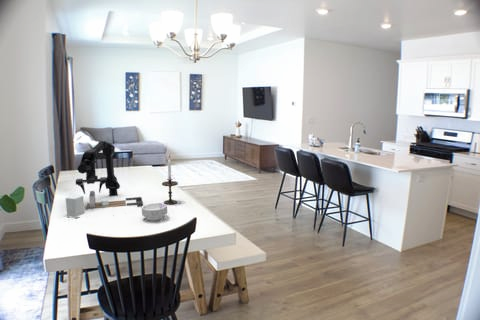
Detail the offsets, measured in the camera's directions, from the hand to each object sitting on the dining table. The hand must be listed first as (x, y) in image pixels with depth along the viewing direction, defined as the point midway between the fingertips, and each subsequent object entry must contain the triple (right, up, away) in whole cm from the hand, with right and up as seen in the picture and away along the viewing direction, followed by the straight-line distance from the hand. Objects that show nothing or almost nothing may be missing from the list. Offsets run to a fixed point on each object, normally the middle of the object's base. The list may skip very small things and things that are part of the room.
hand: (92, 193), depth 241 cm
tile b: (+8, -8, +2) cm, 12 cm away
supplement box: (-3, -13, -16) cm, 21 cm away
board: (+8, -9, +4) cm, 13 cm away
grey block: (0, -8, +1) cm, 8 cm away
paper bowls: (+46, -14, -19) cm, 52 cm away
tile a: (+7, -8, +6) cm, 12 cm away
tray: (+25, -9, +10) cm, 28 cm away
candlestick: (+49, -8, +14) cm, 52 cm away
